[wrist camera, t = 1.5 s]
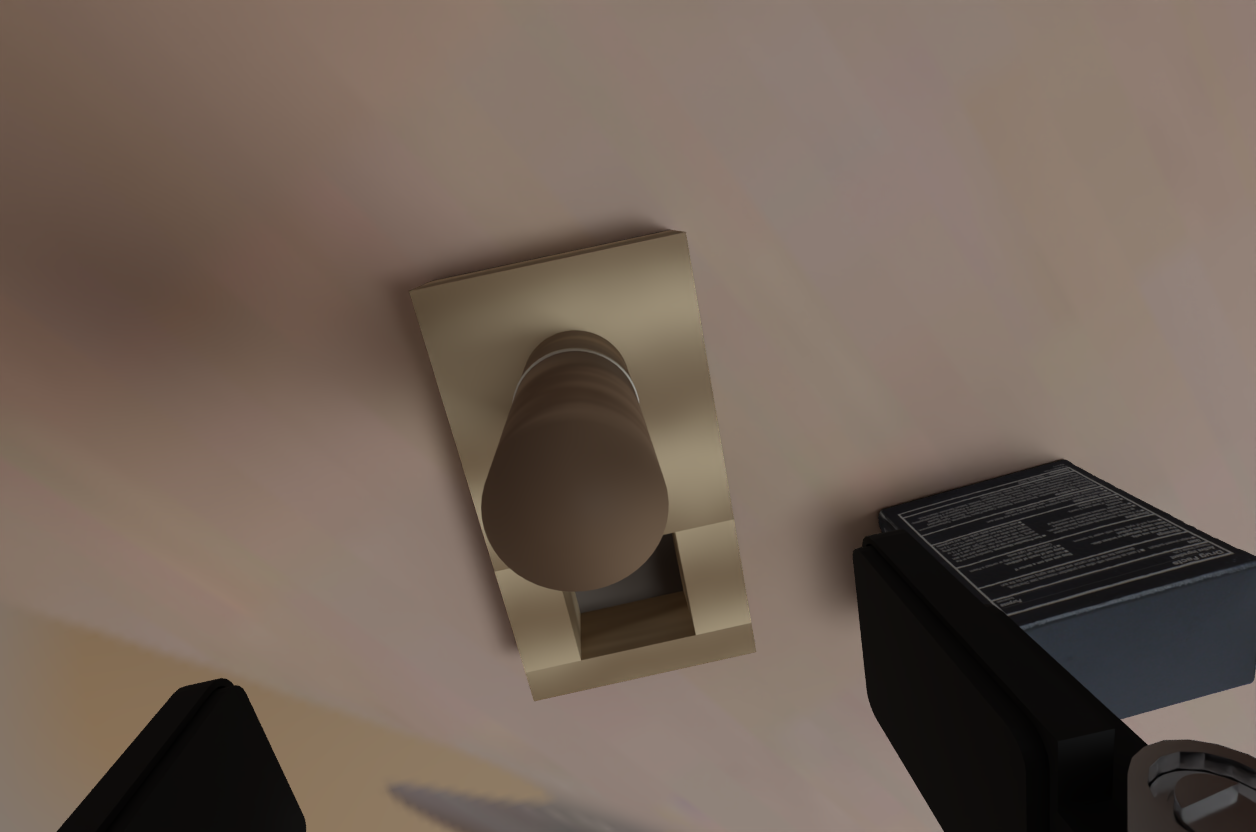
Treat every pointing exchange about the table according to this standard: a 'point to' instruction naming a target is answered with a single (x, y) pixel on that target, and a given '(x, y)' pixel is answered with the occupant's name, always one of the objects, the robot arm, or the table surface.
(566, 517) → the peg
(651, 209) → the table surface
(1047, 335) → the table surface
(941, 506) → the small box
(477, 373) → the board
